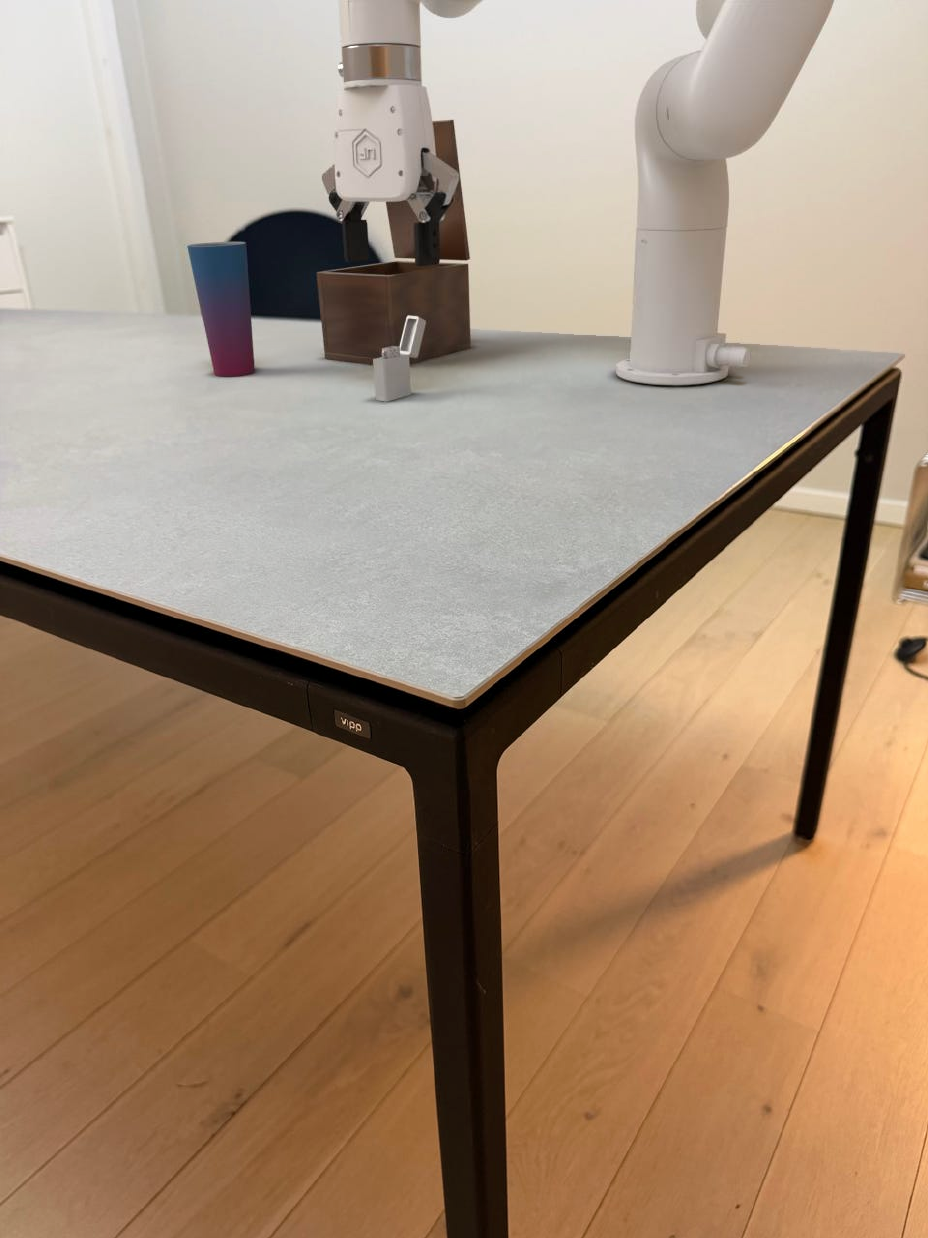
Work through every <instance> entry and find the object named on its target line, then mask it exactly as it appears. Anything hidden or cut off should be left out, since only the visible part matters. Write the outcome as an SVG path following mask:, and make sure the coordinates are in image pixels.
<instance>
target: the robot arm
mask: <svg viewBox="0 0 928 1238" xmlns="http://www.w3.org/2000/svg"><path fill="white" fill-rule="evenodd" d="M337 1H338V15H339V17H338V18H339V29H340V30H339V31H340V47H341V62H339V64H338V67H337V70H338V74H339V76H340V77H341V78H342V79H343V88H342V89H337V97H336V104H335V114H334V137H333V139H334V141H333V143H334V145H333V146H334V148H333V150H334V151H333V152H334V157H333V159H334V164H333V165H331V166H330V167H329V168H328V169H327V170H326V171H324V172H323V173H322V175H321V181H322V184H323V187H324V189H325V191H326V193H327V195H328V201H329V204H330V205H331V207H332V208H333V209H334V211H335V212H336V213H335V214H336V215H335V216H336V219H337V220H338V221H340V222H341V226H342V227H341V228H342V243H343V256H344V261H345V262H346V263H356V262H357V263H358V262H365V261H368V260H369V259H370V245H369V227H368V221H367V219H362V218H363V216H364V214H365V212H366V210H367V209H368V206H369V204H370V202H371V203H372V202H373V203H375V202H377V203H378V202H379V203H380V202H381V203H383V202H384V203H386V202H397V201H403V200H407V201H408V203H409V205H410V206H411V208H412V210H413V211H414V213H415V214H416V216H417V218H418V219H419V223H414V249H415V259H414V262H415V264H416V265H417V266H429V265H437V264H439V263H441V260H440V233H439V222H441V221H443V220H444V218H445V212H446V211H447V209H448V208H449V207H450V205H451V204H452V202H453V194H454V193H455V190H456V187H457V184H458V181H459V178H461V175H460V176H459V173H458V172H457V171H456V170H455V169H453V168H452V167H450V166H449V165H447V164H446V163H445V162H443V161H442V160H440V159H439V158H437V157H436V151H435V140H434V130H433V122H432V121H433V116H432V111H431V110H432V109H431V105H430V98H429V94H428V90H427V89H428V88H427V86H425V85H423V74H422V38H421V6H420V5H421V4H422V5H423V7H424V8H425V10H428V11H429V12H430V13H432V14H433V15H435V16H437V17H440V18H445V19H456V18H460V17H462V16H465V15H466V14H469V13H470V12H471V11H472V10H474V9H475V8H476V7H477V6H478V5H479V4H481V3H482V2H483V1H484V0H337ZM834 2H835V0H696V2H695V19H696V23H697V26H698V30H699V32H700V33H701V36H702V37H703V38H704V39H705V42H704V44H703V45H702V47H701V49H700V50H696V51H694V52H689V53H686V54H683V55H679V56H677V57H674V58H672V59H671V60H668V61H666V62H665V63H663V64H662V65H661V66H659V68H657V69H656V70H655V71H653V73H652V74H651V76H650V77H649V79H648V80H647V81H646V83H645V84H644V86H643V88H642V90H641V92H640V94H639V98H638V100H637V104H636V109H635V115H634V141H635V153H636V155H635V156H636V165H637V210H636V211H637V212H636V230H635V247H634V248H635V249H634V250H635V251H634V266H633V267H634V269H633V270H634V271H633V291H632V309H631V311H632V313H631V314H632V315H631V331H630V333H631V334H630V336H631V337H630V351H629V352H630V353H629V355H630V356H629V357H628V358H625V359H623V360H620V361H619V362H617V363H616V366H615V375H617V376H618V378H620V379H623V380H626V381H629V382H633V383H639V384H647V385H658V386H690V385H701V384H703V385H704V384H709V383H713V382H717V381H721V380H723V379H725V378H727V376H728V375H729V368H730V367H735V368H736V367H737V368H747V367H748V366H749V364H750V361H751V349H749V348H748V347H747V346H729V344H728V343H726V339H727V338H726V337H727V333H723V332H719V331H718V329H719V320H720V319H719V318H720V309H721V297H722V285H723V284H722V283H723V275H724V274H723V273H724V263H725V253H726V252H725V251H726V239H727V230H728V229H727V228H728V221H729V207H730V186H729V185H730V183H729V172H728V164H727V159H731V158H734V157H737V156H739V155H741V154H743V153H745V152H747V151H748V150H750V149H751V148H753V147H754V146H755V145H756V144H757V143H758V142H759V141H760V140H761V139H762V138H763V137H764V135H765V134H766V133H767V132H768V130H769V129H770V127H771V126H772V124H773V122H774V121H775V119H776V118H777V116H778V114H779V113H780V110H781V109H782V107H783V105H784V103H785V101H786V99H787V98H788V96H789V93H790V92H791V90H792V88H793V86H794V84H795V82H796V80H797V78H798V76H799V75H800V72H801V71H802V69H803V67H804V66H805V63H806V61H807V59H808V57H809V55H810V54H811V51H812V49H813V47H814V46H815V43H816V41H817V40H818V38H819V36H820V34H821V32H822V30H823V28H824V25H825V24H826V22H827V19H829V15H830V13H831V11H832V8H833V5H834ZM436 178H437V179H438V181H439V185H438V191H437V193H435V190H436ZM434 193H435V194H434Z"/></svg>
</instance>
